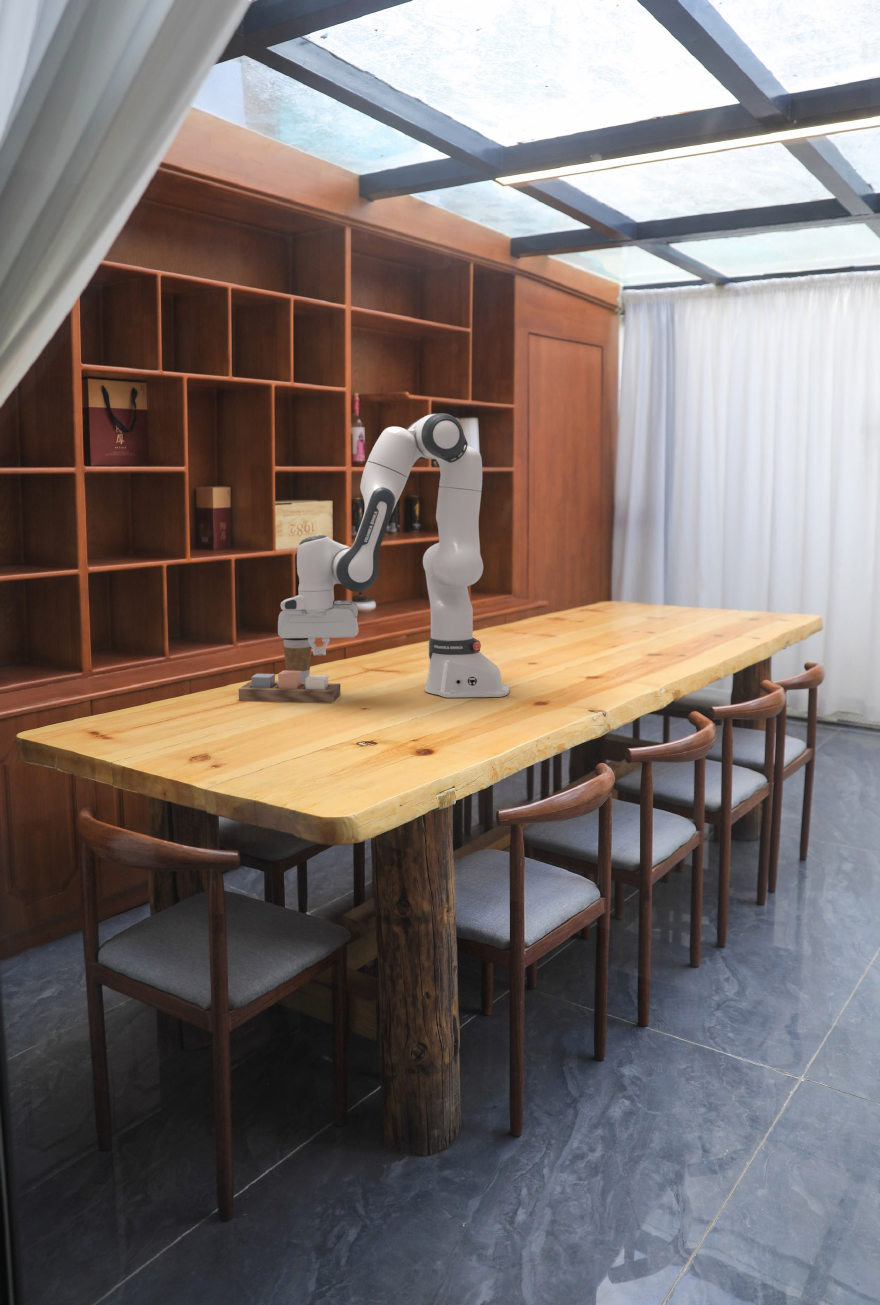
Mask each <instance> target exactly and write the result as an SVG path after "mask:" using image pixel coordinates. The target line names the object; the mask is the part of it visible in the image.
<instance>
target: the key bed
mask: <svg viewBox="0 0 880 1305" xmlns="http://www.w3.org/2000/svg"><path fill="white" fill-rule="evenodd" d="M340 696H341V683H336V682H333V683H330V682H328V688H327V689H326V690H320V689H306V685H305V683H302V686H301V687H300V688H299V689H282V688H279V687H278V681H275V686H274V687H273V688H252V682H251V680H250V681H248V682H247V683H246V684H244V685H242V686H241V687H239V688H238V701H242V702H243V701H244V702H272V703H273V702H274V703H275V702H277V703H278V702H279V703H309V704H312V703H313V704H315V703H316V704H333V703H334V702H335V701H336V700H338V698H339V697H340Z"/></svg>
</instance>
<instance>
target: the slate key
mask: <svg viewBox="0 0 880 1305" xmlns="http://www.w3.org/2000/svg"><path fill="white" fill-rule="evenodd" d="M250 681H251V682H252V688H273V687H274V686H275V682H276V674H275V673H255V674H254V675H252V676H251V680H250Z"/></svg>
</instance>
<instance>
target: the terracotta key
mask: <svg viewBox="0 0 880 1305" xmlns="http://www.w3.org/2000/svg"><path fill="white" fill-rule="evenodd" d="M277 677H278V678H277V679H278V680H277V682H278V687H279V688H282V689H299V688H300V687H301V686H302V675H301V671H286V669H285V670H282V671H281V672H279V673H278V674H277Z"/></svg>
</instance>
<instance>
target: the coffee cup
mask: <svg viewBox="0 0 880 1305" xmlns="http://www.w3.org/2000/svg"><path fill="white" fill-rule="evenodd" d="M281 639H282V640H283V646H282V648H283V654H284V655H283V656H284V662H285V671H301V675H302V683H305V679H306V678H307V677H308V676H309V675H311V674H310V671H311V670H310V669H311V659H312V650H313V649H312V647H311V646H310V644H309V643H308V638H281Z"/></svg>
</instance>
